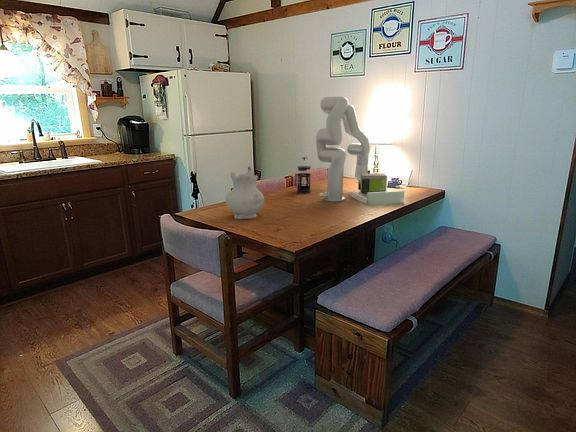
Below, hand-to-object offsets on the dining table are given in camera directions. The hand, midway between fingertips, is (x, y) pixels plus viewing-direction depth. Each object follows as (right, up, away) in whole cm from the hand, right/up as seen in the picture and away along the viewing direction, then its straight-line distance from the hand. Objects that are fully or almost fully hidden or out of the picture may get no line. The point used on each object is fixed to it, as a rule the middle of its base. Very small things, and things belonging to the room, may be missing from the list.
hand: (360, 189), depth 255 cm
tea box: (+4, -6, -15) cm, 17 cm away
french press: (-38, -2, +1) cm, 38 cm away
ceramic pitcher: (-70, -18, -55) cm, 91 cm away
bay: (+6, -7, -20) cm, 22 cm away
